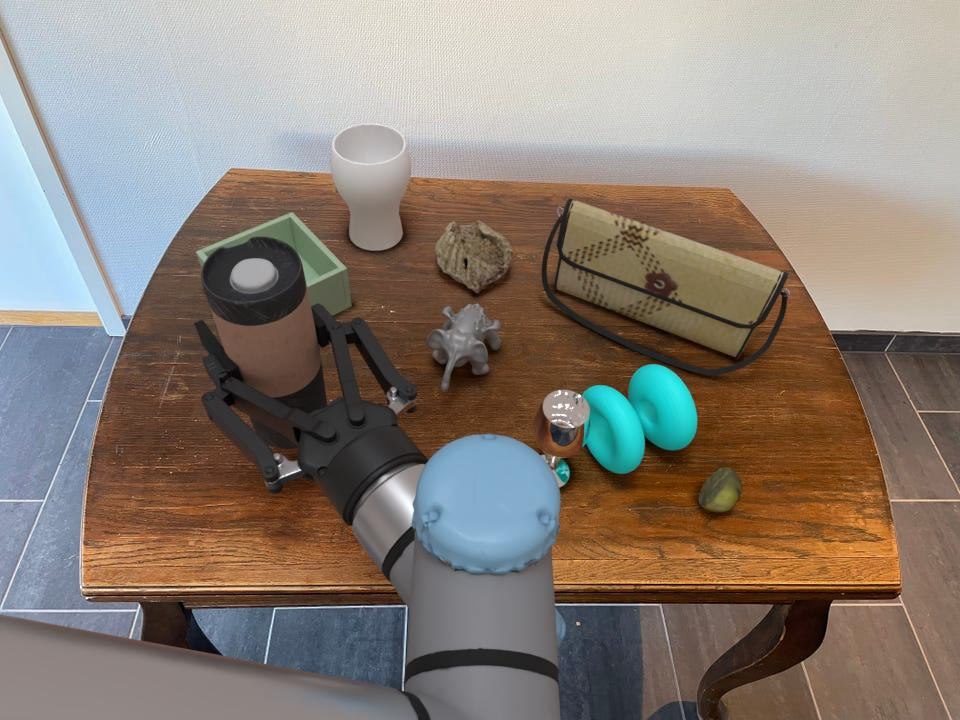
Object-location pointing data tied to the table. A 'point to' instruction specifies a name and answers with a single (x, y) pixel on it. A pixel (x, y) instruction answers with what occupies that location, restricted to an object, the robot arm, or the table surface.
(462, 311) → the gray elephant figurine
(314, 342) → the travel mug
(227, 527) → the table surface
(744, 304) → the clutch purse
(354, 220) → the cup
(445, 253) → the seashell
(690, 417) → the turquoise yo-yo
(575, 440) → the wineglass
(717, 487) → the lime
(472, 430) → the table surface
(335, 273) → the bin
